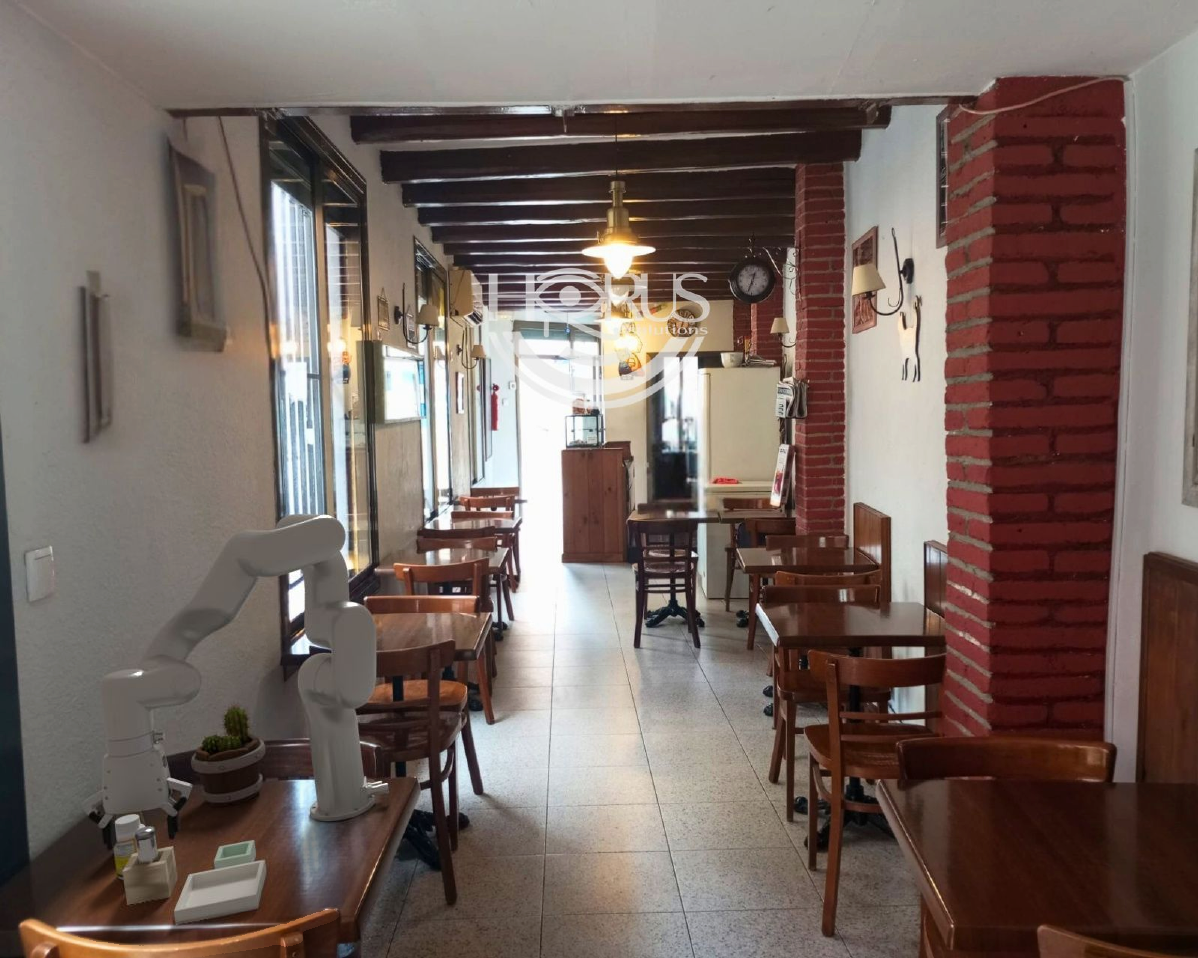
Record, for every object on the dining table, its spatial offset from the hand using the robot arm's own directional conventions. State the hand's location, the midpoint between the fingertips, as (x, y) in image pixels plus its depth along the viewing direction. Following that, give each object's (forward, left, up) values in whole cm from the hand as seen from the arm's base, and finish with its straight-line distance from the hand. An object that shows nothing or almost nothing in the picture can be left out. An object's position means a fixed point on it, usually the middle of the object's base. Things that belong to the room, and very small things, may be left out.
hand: (143, 841), depth 158 cm
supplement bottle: (+5, -9, -9) cm, 14 cm away
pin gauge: (0, 0, -9) cm, 9 cm away
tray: (-13, +7, -9) cm, 17 cm away
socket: (-13, -4, -9) cm, 17 cm away
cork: (+8, -21, -9) cm, 25 cm away
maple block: (0, 0, -9) cm, 9 cm away
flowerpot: (-8, -38, -9) cm, 40 cm away
